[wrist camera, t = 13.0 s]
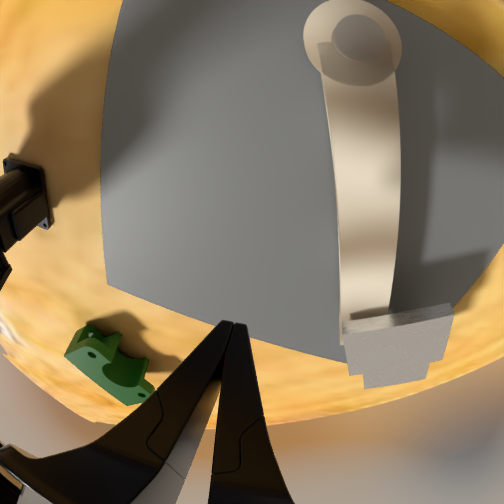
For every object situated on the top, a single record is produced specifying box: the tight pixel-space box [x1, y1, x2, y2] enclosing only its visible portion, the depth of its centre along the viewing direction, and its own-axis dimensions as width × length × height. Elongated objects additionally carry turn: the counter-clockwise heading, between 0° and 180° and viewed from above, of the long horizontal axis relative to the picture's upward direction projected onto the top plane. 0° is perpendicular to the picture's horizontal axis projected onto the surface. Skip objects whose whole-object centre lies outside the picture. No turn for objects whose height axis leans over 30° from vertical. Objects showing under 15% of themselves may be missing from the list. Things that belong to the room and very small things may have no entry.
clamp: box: [64, 325, 155, 406], centre depth 31 cm, size 12×6×9 cm, turn 24°
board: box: [100, 0, 504, 363], centre depth 17 cm, size 28×26×1 cm
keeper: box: [342, 302, 454, 389], centre depth 19 cm, size 8×7×5 cm
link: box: [303, 0, 402, 345], centre depth 13 cm, size 20×4×4 cm, turn 12°
